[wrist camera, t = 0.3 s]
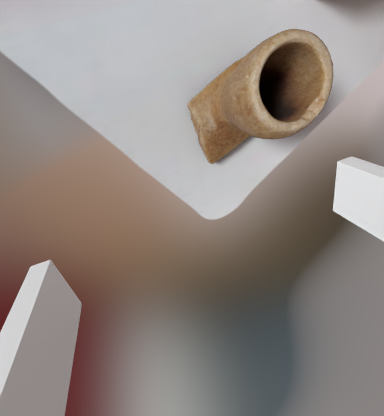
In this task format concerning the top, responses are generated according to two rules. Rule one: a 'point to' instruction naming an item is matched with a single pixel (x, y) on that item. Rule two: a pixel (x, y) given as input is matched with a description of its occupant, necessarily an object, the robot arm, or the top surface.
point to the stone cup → (264, 93)
